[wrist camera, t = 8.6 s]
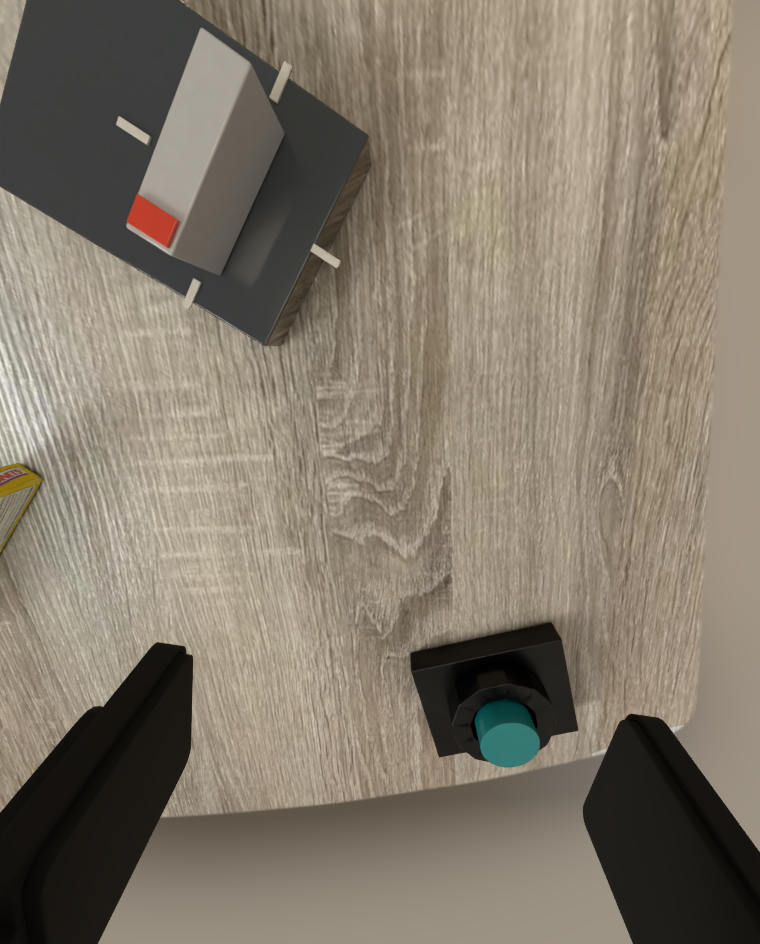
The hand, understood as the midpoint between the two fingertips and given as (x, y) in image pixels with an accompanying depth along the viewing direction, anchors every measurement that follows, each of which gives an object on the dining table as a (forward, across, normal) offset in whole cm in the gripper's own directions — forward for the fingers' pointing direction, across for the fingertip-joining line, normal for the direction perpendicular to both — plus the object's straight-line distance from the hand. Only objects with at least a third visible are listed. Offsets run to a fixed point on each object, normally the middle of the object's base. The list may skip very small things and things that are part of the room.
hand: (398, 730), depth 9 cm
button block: (+17, -9, +14) cm, 24 cm away
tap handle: (+14, +9, -13) cm, 21 cm away
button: (+14, -9, +14) cm, 22 cm away
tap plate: (+17, +12, -14) cm, 25 cm away
